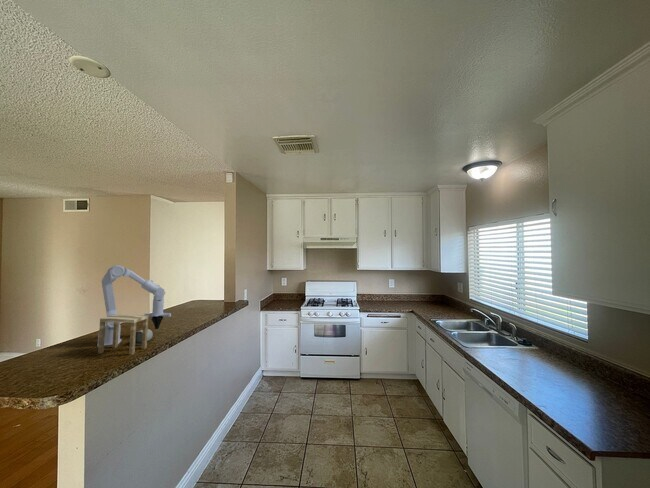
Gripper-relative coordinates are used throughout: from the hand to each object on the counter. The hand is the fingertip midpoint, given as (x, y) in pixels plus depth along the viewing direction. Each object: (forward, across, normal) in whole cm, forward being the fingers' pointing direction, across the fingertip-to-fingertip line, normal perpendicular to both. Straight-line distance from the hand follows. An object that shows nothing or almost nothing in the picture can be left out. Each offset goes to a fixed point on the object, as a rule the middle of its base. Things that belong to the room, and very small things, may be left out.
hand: (157, 328), depth 159 cm
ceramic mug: (+5, -4, -13) cm, 14 cm away
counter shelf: (+4, -6, -24) cm, 25 cm away
